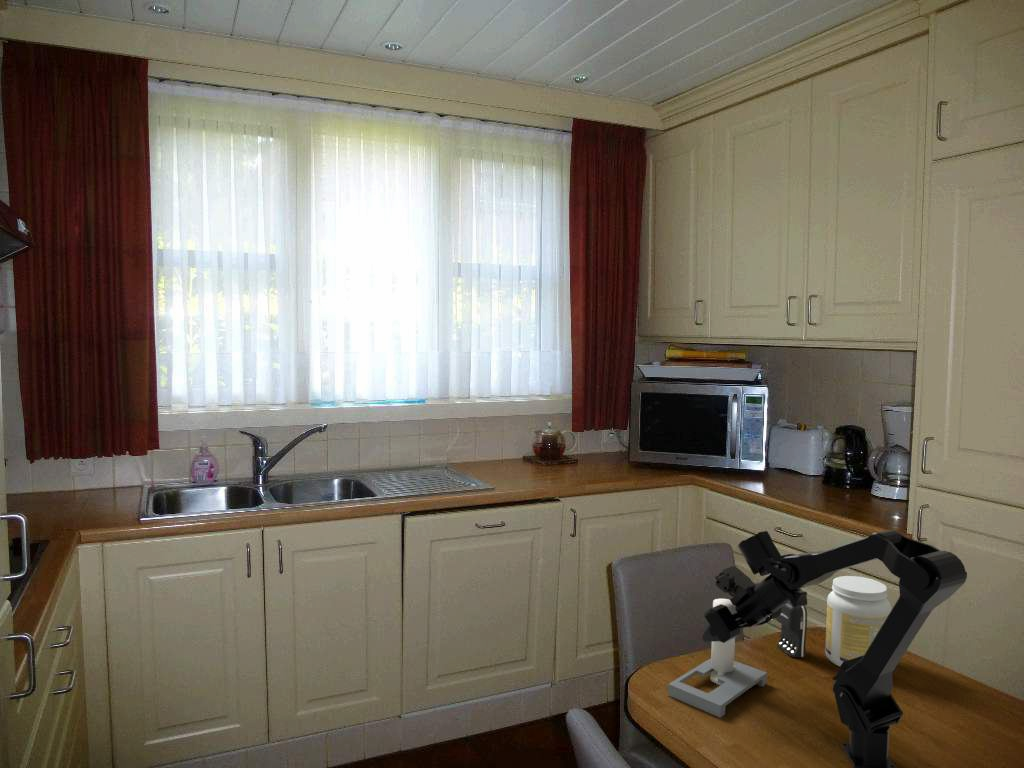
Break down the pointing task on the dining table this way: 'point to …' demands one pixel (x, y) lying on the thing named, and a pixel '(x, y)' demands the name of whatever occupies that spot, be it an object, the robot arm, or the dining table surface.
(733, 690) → the keyhole plate
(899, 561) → the robot arm
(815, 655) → the dining table surface
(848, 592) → the supplement tub
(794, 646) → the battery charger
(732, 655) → the footed peg
